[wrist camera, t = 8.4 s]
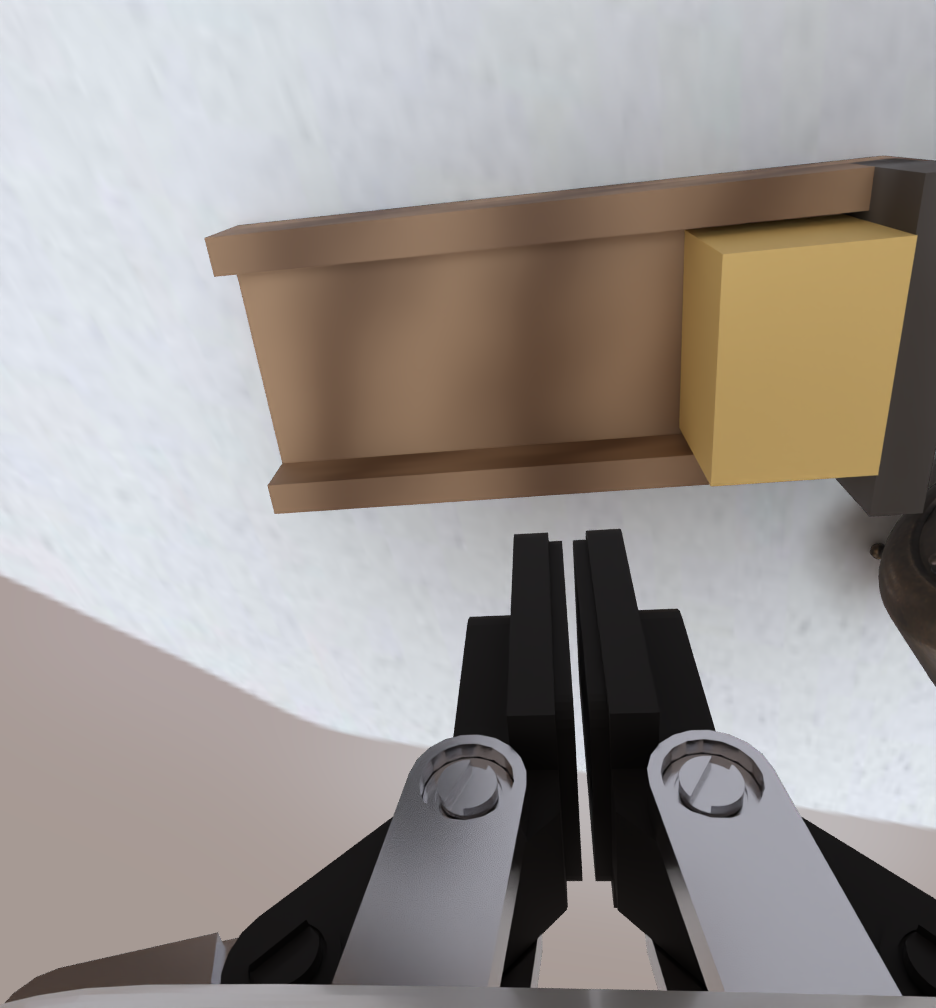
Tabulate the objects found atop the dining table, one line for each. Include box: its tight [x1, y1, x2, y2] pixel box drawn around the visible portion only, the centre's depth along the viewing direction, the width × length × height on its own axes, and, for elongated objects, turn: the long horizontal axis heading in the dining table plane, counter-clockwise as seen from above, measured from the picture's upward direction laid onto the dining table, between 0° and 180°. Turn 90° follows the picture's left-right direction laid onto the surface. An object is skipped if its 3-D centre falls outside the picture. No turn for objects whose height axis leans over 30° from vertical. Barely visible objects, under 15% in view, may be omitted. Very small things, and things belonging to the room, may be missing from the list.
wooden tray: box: [205, 156, 936, 516], centre depth 25 cm, size 22×10×6 cm, turn 96°
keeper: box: [679, 214, 918, 486], centre depth 23 cm, size 5×7×5 cm
